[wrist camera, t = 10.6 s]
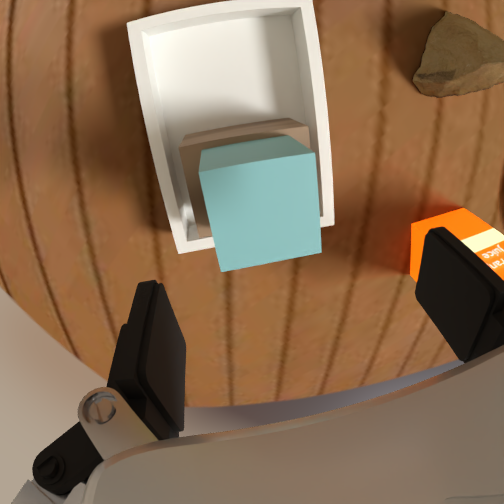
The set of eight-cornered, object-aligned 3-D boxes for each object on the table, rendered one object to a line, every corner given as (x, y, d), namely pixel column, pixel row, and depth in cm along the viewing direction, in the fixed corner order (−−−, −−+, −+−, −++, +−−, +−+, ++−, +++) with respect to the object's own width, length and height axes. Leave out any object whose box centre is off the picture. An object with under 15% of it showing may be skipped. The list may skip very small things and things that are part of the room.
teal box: (201, 149, 21) (198, 172, 15) (288, 135, 21) (315, 152, 16) (217, 228, 24) (221, 271, 18) (296, 213, 24) (321, 252, 19)
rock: (435, 127, 26) (499, 102, 23) (460, 88, 18) (531, 65, 15) (381, 47, 27) (446, 29, 25) (385, -3, 19) (460, -17, 16)
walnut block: (185, 134, 25) (178, 147, 20) (288, 117, 26) (308, 126, 21) (200, 208, 29) (199, 237, 24) (296, 191, 29) (315, 216, 24)
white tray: (137, 31, 21) (126, 22, 17) (297, 6, 21) (311, -4, 18) (181, 233, 31) (178, 253, 27) (320, 208, 31) (334, 224, 28)
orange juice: (459, 256, 37) (550, 351, 20) (409, 275, 38) (498, 390, 20) (464, 206, 33) (577, 295, 16) (410, 222, 34) (527, 335, 16)
